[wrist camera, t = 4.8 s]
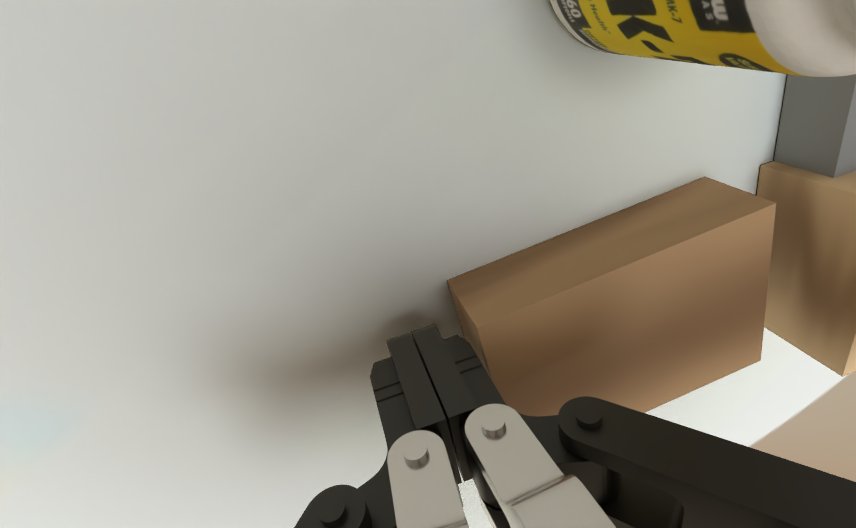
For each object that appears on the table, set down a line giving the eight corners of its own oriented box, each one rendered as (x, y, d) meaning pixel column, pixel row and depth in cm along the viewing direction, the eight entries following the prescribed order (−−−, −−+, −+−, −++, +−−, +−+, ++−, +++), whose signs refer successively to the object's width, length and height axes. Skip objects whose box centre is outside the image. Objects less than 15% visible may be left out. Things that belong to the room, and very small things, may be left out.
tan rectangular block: (760, 165, 16) (894, 205, 12) (836, 140, 16) (985, 173, 13) (739, 311, 19) (842, 376, 15) (803, 287, 19) (918, 345, 16)
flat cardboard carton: (442, 273, 15) (476, 327, 12) (695, 172, 16) (776, 202, 13) (484, 404, 18) (518, 469, 15) (694, 313, 19) (760, 360, 16)
